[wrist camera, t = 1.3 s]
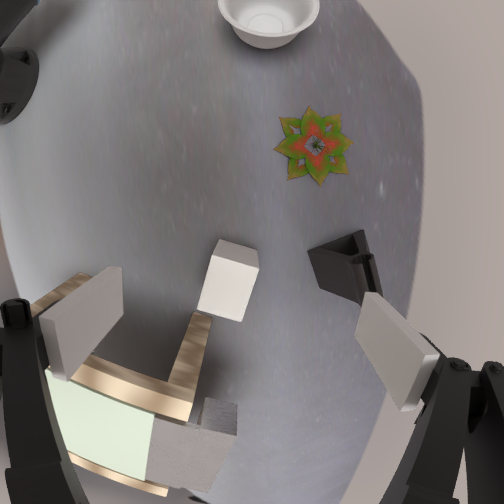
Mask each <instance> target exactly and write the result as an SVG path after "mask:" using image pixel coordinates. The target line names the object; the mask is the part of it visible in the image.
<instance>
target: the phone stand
mask: <svg viewBox="0 0 504 504" xmlns="http://www.w3.org/2000/svg"><path fill="white" fill-rule="evenodd" d="M308 254H309V257H310V260H311V263H312V266H313V269H314V272H315V275H316V278H317V281H318V284H319V287H320V288H321V289H323V290H326V291H329V292H331V293H334V294H336V295H339V296H341V297H344V298H346V299H349V300H351V301H354V302H356V303H358V304H359V305H360V307H361V308H362V303H363V299H364V295H365V292H375V293H378V294H379V295H380V296H381V297H383V293H382V288H381V284H380V279H379V275H378V271H377V267H376V263H375V259H374V255H373V254H371V253H370V251H369V247H368V243H367V240H366V236H365V233H364V230H360V231H357V232H355V233H352V234H350V235H347V236H345V237H342V238H339V239H337V240H334V241H332V242H329V243H327V244H324V245H321V246H319V247H316V248H314V249H311V250H309V251H308ZM383 298H384V297H383Z"/></svg>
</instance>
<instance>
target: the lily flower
mask: <svg viewBox="0 0 504 504" xmlns="http://www.w3.org/2000/svg"><path fill="white" fill-rule="evenodd" d="M340 116H341V114H338V115H334V116H332V115H331V116H327V117H324V118H321V117H320V116H319V115H318V114H317V113H316V112H315V111H313V110H311V108H310V107H309V106H308V109H307V111H306V114H304V116H303V118H302V120H300V119H296V118H285V119H283V118H281V117H279V119H280V121H281V124H282V125H283V126H282V127H283V130H284V133H285V135H286V137H287V138H286V139H285V140H283V141H282V142H281V143H280V144H279V146H278V147H276V148H275V149H273V150H277V151H278V152H280V153H283V154H284V155H286V156H288V157H290V159H289V165H288V174H289V176H288V179H287V180H289V179H292V178H295V177H300V176H303V175H305V174H308V173H310V174H311V175H312V177H313V178H314V179H315V180H316V181H317V182H318V184H319V186H320V187H321V184H322V182H323V181H324V178H326V176H327V175H328V173H329V171H330V172H333V173H342V174H343V173H345V174H349V173H348V169H347V167H346V160H345V158H344V156H343V154H342V153H343V152H345V151H346V150H347V149H348V148H349V147H350V144H353V143H354V142H352V141H351V140H349V139H348V138H346V136H344V135H343V134H341V133H340V130H341V120H340ZM331 124H332V127H331V131H330V132H327V133H325V126H326V127H328V126H329V125H331ZM289 125H290V126H292V127H295V128H301V133H302V135H300V134H295V135H294V131H293V130H292V128H291V127H290V126H289ZM312 135H315V136H316V137H318V141H319V139H320V140H322V141H323V142H324V143H325V144H326V145H325V147H324V148H323V150H321V149H322V148H320V147H323V146H320V147H318V146H319V145H320V144H319V143H320V142H321V141H320V142H317V141H316V140H315V141H316V143H315V142H314V143H310V144H314V145H312V146H314V147H315V148H316V149H317V147H318V148H319V149H320V150H321V153H320V154H319V155H317V156H315V155H313V154H312V153H311V152H309V151H308V150H307V149H306V148H305V147H304V145H305V144H306V142H307V140H308V139H309V138H310V137H311V136H312ZM312 137H313V136H312ZM313 138H314V137H313ZM312 140H313V139H312ZM318 144H319V145H318ZM322 144H323V143H322ZM313 149H314V148H313ZM317 151H318V150H317ZM314 152H315V151H314ZM318 153H319V152H318ZM328 155H329V156H334V161H335V162H336V163H333V162H330V159H329V157H328ZM305 157H306V161H305V162H306V164H304V165H301V166H299V167H298V164H299V161H298V160H299V159H303V158H305ZM297 167H298V168H297Z"/></svg>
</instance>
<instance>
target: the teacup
mask: <svg viewBox="0 0 504 504" xmlns="http://www.w3.org/2000/svg"><path fill="white" fill-rule="evenodd" d="M218 6H219V9H220V12H221V13H222V15H223V17H224V18H225V19H226V20H227V21H228V22H229V23H231V25H232V27H233V29H234V31H235V33H236V34H237V35H238V37H239V38H240V39H242V40H243V41H244V42H246V43H247V44H249V45H251V46H254V47H257V48H263V49H272V48H277V47H281V46H283V45H285V44H287V43H289V42H290V41H291V40H293V39H294V38H295V37H296V35H297V34H298V33H299V32H300V31H302V30H303V29H305V28H307V27H308V26H309V25H311V24H312V23H313V22H314V20H315V19H316V17H317V15H318V12H319V0H218Z"/></svg>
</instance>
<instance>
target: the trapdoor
mask: <svg viewBox="0 0 504 504" xmlns="http://www.w3.org/2000/svg"><path fill="white" fill-rule="evenodd" d="M45 373H46V377H47V381H48V386H49V390H50V394H51V398H52V402H53V406H54V410H55V413H56V417H57V420H58V424H59V427H60V430H61V434H62V437H63V440H64V443H65V446H66V448H67V450H69V451H71V452H73V453H75V454H77V455H79V456H81V457H83V458H85V459H88V460H90V461H92V462H95V463H97V464H99V465H102V466H104V467H107V468H109V469H112V470H114V471H117V472H120V473H122V474H125V475H128V476H131V477H134V478H137V479H140V480H143V481H144V480H145V479H146V480H149V481H153V482H156V483H160V484H163V485H167V486H171V487H174V488H178V489H180V487H183V488H187V489H192V490H196V491H201V492H206V493H208V492H209V490H210V488H211V486H212V484H213V482H214V480H215V478H216V476H217V474H218V472H219V470H220V469H221V467H222V465H223V463H224V461H225V459H226V457H227V454H228V452H229V450H230V448H231V446H232V444H233V442H234V440H235V438H236V436H237V407H238V405H237V404H233V403H229V402H224V401H220V400H216V399H212V398H208V397H205V400H204V403H203V406H202V409H201V412H200V415H199V418H198V422H197V424H194V423H190V422H186V421H183V420H179V419H176V418H172V417H169V416H166V415H162V414H159V413H156V412H153V411H150V410H147V409H144V408H141V407H139V406H136V405H133V404H130V403H127V402H125V401H122V400H120V399H117V398H114V397H112V396H109V395H107V394H104V393H102V392H100V391H97V390H95V389H93V388H90V387H88V386H86V385H84V384H81V383H79V382H77V381H75V380H73V379H70V380H69V381H68V382H65V381H62V380H59V379H56V378H54V377H53V376H52V373H51V369H50V368H49V367H48V368H47V369H46V370H45Z"/></svg>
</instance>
